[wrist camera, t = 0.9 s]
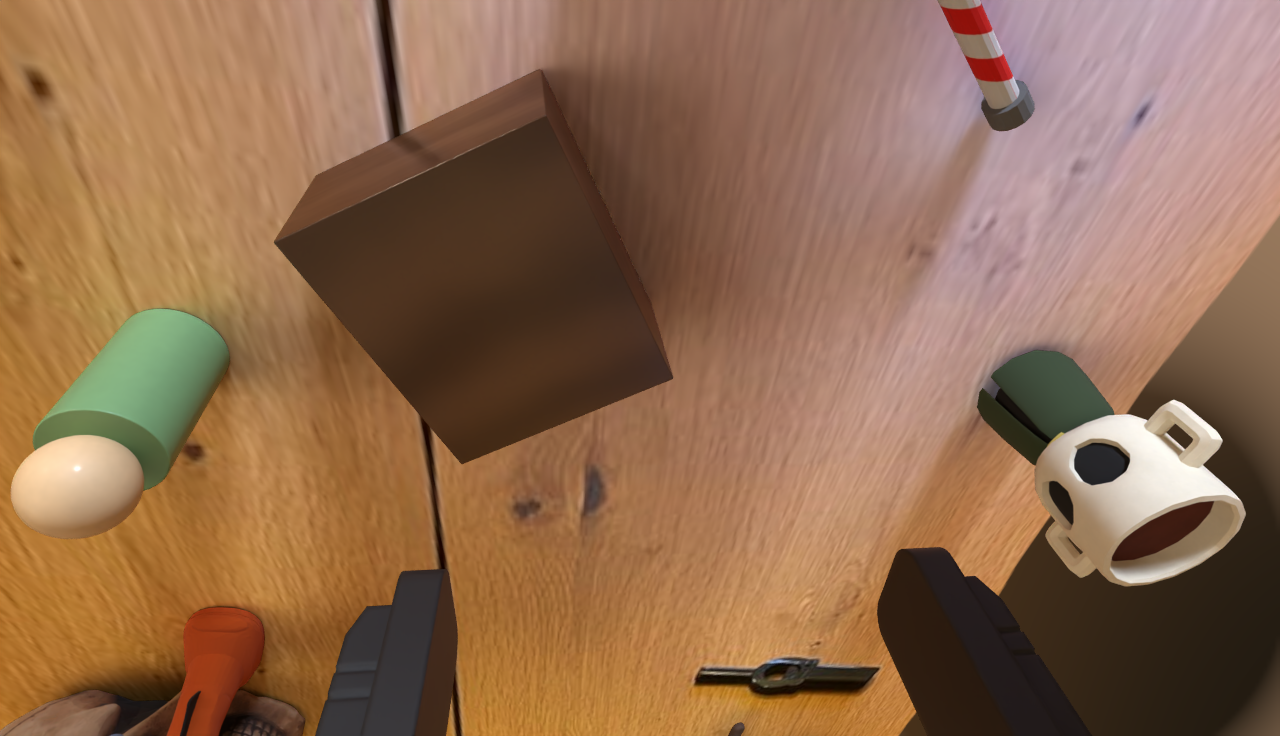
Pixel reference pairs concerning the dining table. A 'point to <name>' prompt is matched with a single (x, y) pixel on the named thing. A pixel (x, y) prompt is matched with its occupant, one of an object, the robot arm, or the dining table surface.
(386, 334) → the walnut block
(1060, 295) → the dining table surface
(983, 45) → the toy hammer
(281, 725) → the coin bank
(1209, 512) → the character mug
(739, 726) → the bear figurine
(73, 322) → the dining table surface
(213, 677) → the toy drill
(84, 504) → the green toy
